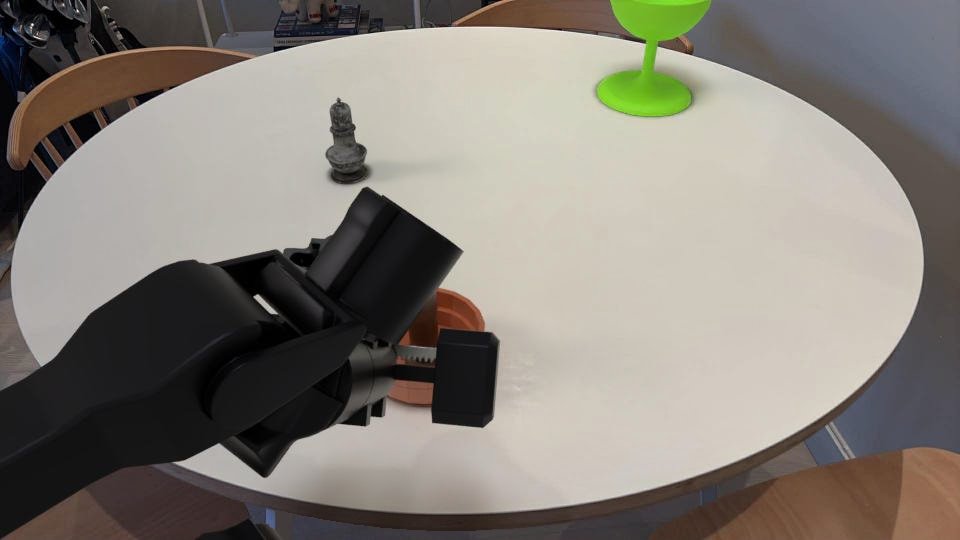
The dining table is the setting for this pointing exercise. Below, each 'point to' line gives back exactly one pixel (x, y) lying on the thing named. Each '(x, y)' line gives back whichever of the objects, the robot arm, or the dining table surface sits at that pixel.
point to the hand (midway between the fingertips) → (384, 361)
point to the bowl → (451, 315)
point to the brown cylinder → (425, 331)
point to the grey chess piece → (345, 147)
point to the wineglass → (651, 57)
